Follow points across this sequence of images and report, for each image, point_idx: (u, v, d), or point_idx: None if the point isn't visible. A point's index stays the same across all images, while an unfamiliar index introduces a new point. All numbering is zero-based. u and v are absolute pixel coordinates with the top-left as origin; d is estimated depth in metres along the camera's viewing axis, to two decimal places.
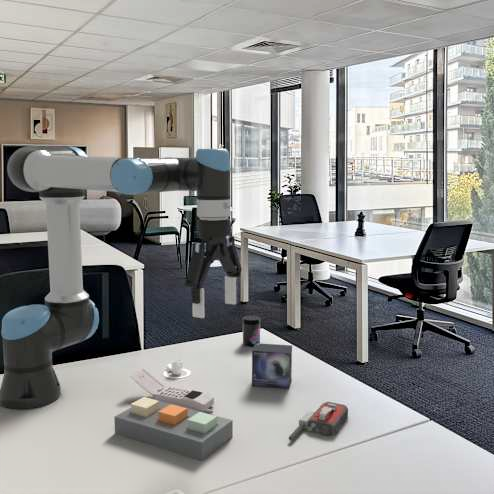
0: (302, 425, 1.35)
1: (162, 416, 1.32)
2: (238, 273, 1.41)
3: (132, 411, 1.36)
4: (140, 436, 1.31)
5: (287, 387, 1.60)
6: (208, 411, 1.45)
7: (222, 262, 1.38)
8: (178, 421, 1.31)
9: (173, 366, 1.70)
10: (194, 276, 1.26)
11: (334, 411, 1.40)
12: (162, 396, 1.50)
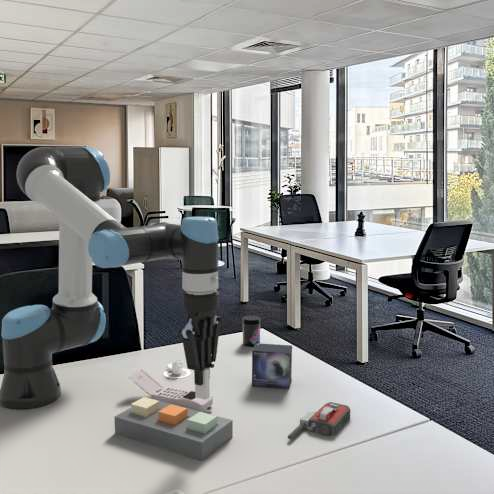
0: (302, 424, 1.36)
1: (162, 416, 1.32)
2: (212, 364, 1.27)
3: (132, 411, 1.36)
4: (140, 436, 1.31)
5: (287, 387, 1.60)
6: (207, 412, 1.44)
7: None
8: (178, 421, 1.31)
9: (173, 366, 1.70)
10: (194, 361, 1.23)
11: (336, 411, 1.40)
12: (161, 397, 1.50)
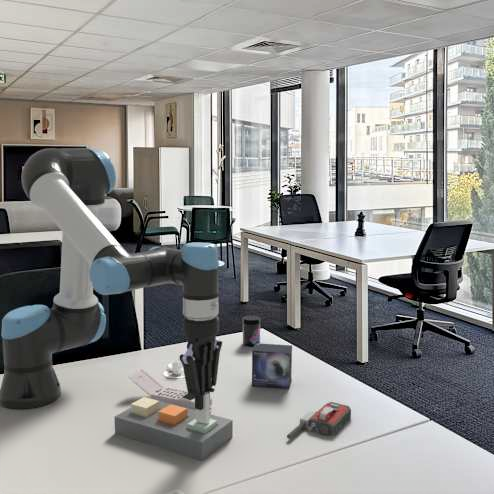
0: (302, 424, 1.36)
1: (162, 416, 1.32)
2: (212, 389, 1.28)
3: (132, 411, 1.36)
4: (140, 436, 1.31)
5: (287, 387, 1.60)
6: None
7: None
8: (178, 421, 1.31)
9: (173, 366, 1.70)
10: (194, 387, 1.23)
11: (336, 411, 1.40)
12: (160, 397, 1.50)
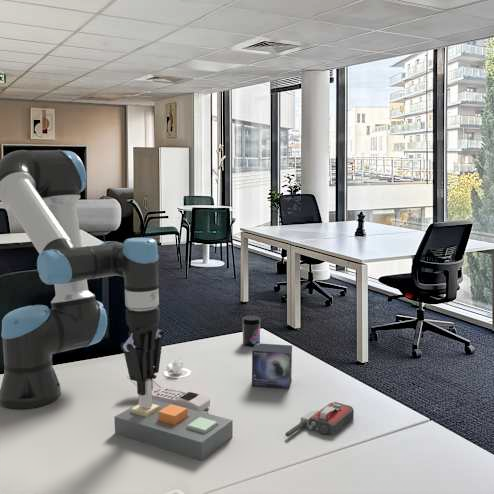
0: (303, 423, 1.37)
1: (162, 416, 1.32)
2: (154, 375, 1.36)
3: None
4: (140, 436, 1.31)
5: (287, 387, 1.60)
6: None
7: None
8: (178, 421, 1.31)
9: (173, 366, 1.70)
10: (135, 373, 1.31)
11: (338, 411, 1.39)
12: (158, 397, 1.49)
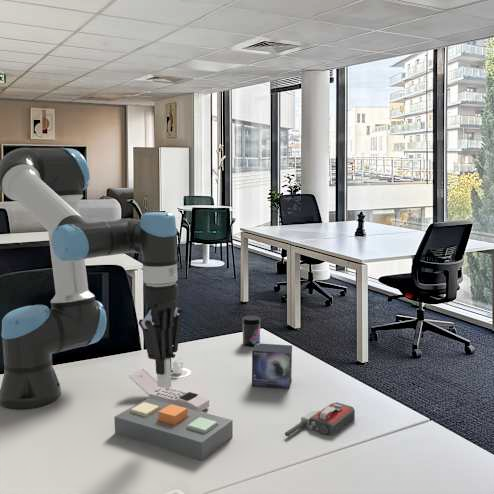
0: (303, 422, 1.37)
1: (162, 416, 1.32)
2: (173, 354, 1.32)
3: None
4: (140, 436, 1.31)
5: (287, 387, 1.60)
6: None
7: None
8: (178, 421, 1.31)
9: (173, 365, 1.70)
10: (154, 351, 1.27)
11: (338, 412, 1.39)
12: (158, 397, 1.50)
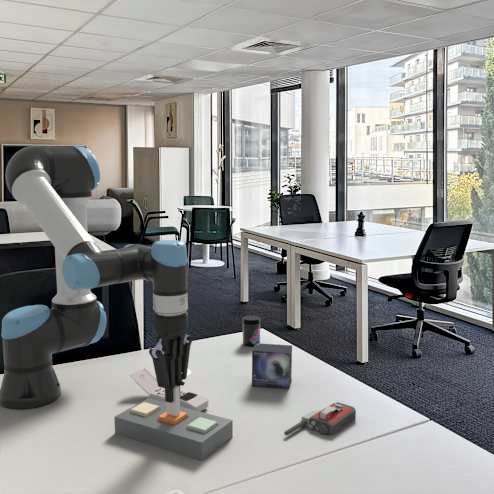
0: (303, 422, 1.37)
1: (162, 421, 1.32)
2: (182, 382, 1.32)
3: None
4: (140, 436, 1.31)
5: (287, 387, 1.60)
6: None
7: None
8: None
9: None
10: (164, 380, 1.27)
11: (339, 412, 1.39)
12: (158, 396, 1.50)
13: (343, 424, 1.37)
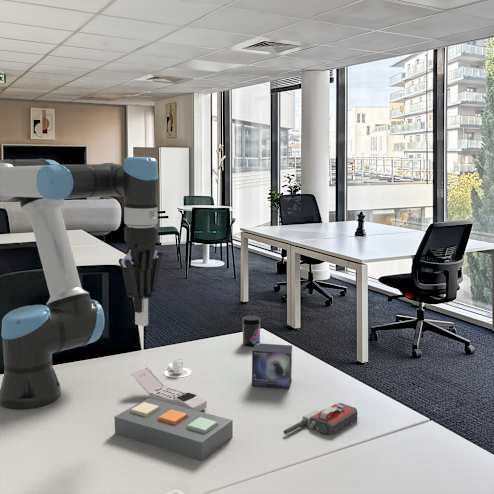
0: (303, 421, 1.38)
1: (162, 421, 1.32)
2: (151, 294, 1.39)
3: None
4: (140, 436, 1.31)
5: (287, 387, 1.60)
6: None
7: None
8: None
9: (174, 365, 1.70)
10: (132, 289, 1.34)
11: (340, 412, 1.39)
12: (157, 396, 1.50)
13: (344, 425, 1.37)
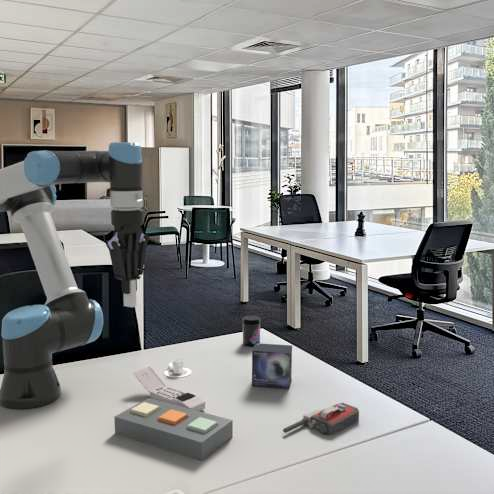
0: (304, 420, 1.38)
1: (162, 421, 1.32)
2: (138, 276, 1.43)
3: None
4: (140, 436, 1.31)
5: (287, 387, 1.60)
6: None
7: None
8: None
9: (174, 365, 1.70)
10: (120, 271, 1.38)
11: (341, 412, 1.39)
12: (157, 395, 1.51)
13: (344, 424, 1.37)
